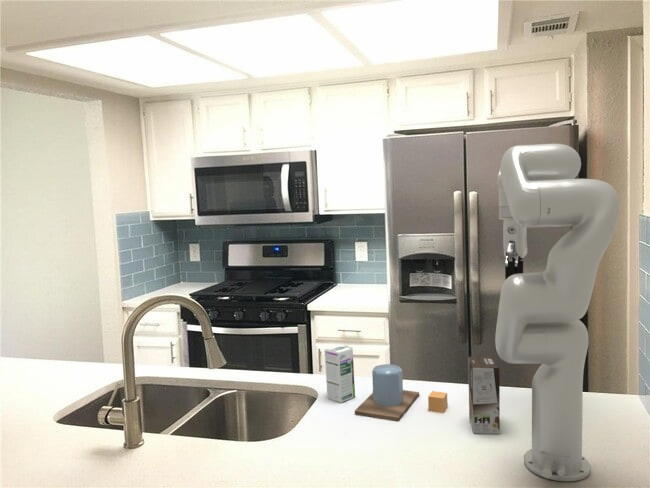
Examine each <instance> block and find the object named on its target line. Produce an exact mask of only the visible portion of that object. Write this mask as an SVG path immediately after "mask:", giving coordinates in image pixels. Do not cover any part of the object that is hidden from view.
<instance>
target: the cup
mask: <svg viewBox="0 0 650 488" xmlns="http://www.w3.org/2000/svg"><path fill="white" fill-rule="evenodd" d="M371 375H372V393H373V402H375V403H376V404H377V405H378V406H385V407H392V406H398V405H400V404H401V403H402V402H403V390H404V386H403V385H404V383H403V382H404V381H403V380H404V378H403V369H402V368H401V366H399V365H396V364H392V363H391V364H378V365H375V366H374V367H373V369H372V371H371Z"/></svg>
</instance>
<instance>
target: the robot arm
mask: <svg viewBox="0 0 650 488" xmlns="http://www.w3.org/2000/svg"><path fill="white" fill-rule="evenodd" d="M581 160H582V159H581V157H580V154H579V153H578V152H577V151H576V149H574V148H573V147H572V146H569V145H567V144H563V143H539V144H538V143H537V144H518V145H514V146H511V147H510V148H508V149H507V150H506V151H505V153H504V154H503V156H502V159H501V162H500V168H499V170H498V173H497V186H498V219H499V220H503V222H502V223H503V225H502V227H503V231H502V232H503V235H502V237H503V238H502V241H503V243H502V244H503V256H504V258H505V266H504V267H505V269H504V270H505V271H504V273H505V274H504V277H505V278H504V279H505V280H504V282H503V284H502V287H501V290H500V297H499V301H498V302H499V303H498V310H497V311H498V313H497V317H496V318H497V320H496V327H495V336H494V339H495V340H494V341H495V342H494V343H495V350H496V353H497V355H498V357H499V358H500V359H501V360H502V361H503V362H506V363H508V364H517V365H519V364H520V365H521V364H523V365H528V364H529V365H531V364H533V365H534V364H535V365H536V364H537V365H538V364H540V366H539V367H538V369H537V370H536V372H535V374H534V375H533V377H532V382H531V448H530V449H529V450H527V451H526V452H525V453H524V455H523V462H524V466H526V468H527V469H528V470H529V471H530V472H532V473H533V474H535V475H537V476H539V477H542V478H545V479H548V480H552V481H558V482H576V481H581V480H583V479H585V478H587V477H588V476H589V475H590V473H591V463H590V461H589V460H588V459H587V458H586V457H585V456H583V398H584V397H583V395H584V394H583V390H584V388H583V387H584V386H583V385H584V370H585V363H586V357H587V352H588V348H589V332H588V329H587V327H586V325H585V324H584V323H583V322H582V321H581V320H580V319H582V318H583V317H584V316H585V315H586V314H587V311H588V309H589V305H590V302H591V299H592V295H593V292H594V286H595V283H596V278H597V274H598V268H599V266H600V262H601V260H602V258H603V256H604V254H605V252H606V251H607V249H608V247H609V245H610V244H611V241H612V239H613V237H614V234H615V233H616V230H617V226H618V221H619V213H620V203H619V198H618V194H617V191H616V189H615V188H614V187H613V185H611V184H610V183H608V182H606V181H603V180H599V179H595V178H594V179H593V178H577V176H578V175H579V173H580V171H581V167H582V161H581ZM547 227H548V228H549V227H550V228H552V227H553V228H554V227H572V229H570V230H569V231H568V232H567V233H565V234H564V235H563V236H562V237H560V238H559V240H558V241H557V242H556V243H555V244H554V245H553V246H552V248H551V249H550V251H549V253H548V256H547V262H546V267H545V270H543V271H540V272H524V260H523V259H524V258H525V257H526V256H527V255H528V239H527V238H528V237H527V236H528V235H527V228H547Z"/></svg>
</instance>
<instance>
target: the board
mask: <svg viewBox="0 0 650 488" xmlns="http://www.w3.org/2000/svg"><path fill="white" fill-rule="evenodd" d="M419 396H420V392H419V391H414V390H405V389H403V402H402V403H401V404H400V405H398V406H392V407H385V406H378V405H377V404H376V403H375V402H373V392H372V393H371V394H370V395H368V397H367V398H366V399H364V401H363V402H362V403H360V405H359V406H358V407H357V408H356V409H354V415H355V414H356V416H360V417H361V416H363V417H369V418H374V419H382V420H388V421H395V422H400V421H401V419H403V416H404V415H406V413H407V412H408V410H409V409H410V408H411V407H412V406H413V404H414V403H415V402H416V400H417V399H418V398H419Z"/></svg>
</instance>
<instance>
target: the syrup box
mask: <svg viewBox="0 0 650 488" xmlns="http://www.w3.org/2000/svg"><path fill="white" fill-rule="evenodd" d="M324 362H325V376H326V378H325V379H326V380H325V381H326V382H325V383H326V395H327V396H326V397H327V399H329V400H332V401H334V402H337V403H339V404H342V403H344V402H346V401H348V400H351V399H353V398H355V397H356V387H355V368H354V367H355V365H354V351H353V347H351V346H349V345H345V344H337V345H334V346H332V347H328V348H325V349H324Z"/></svg>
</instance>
